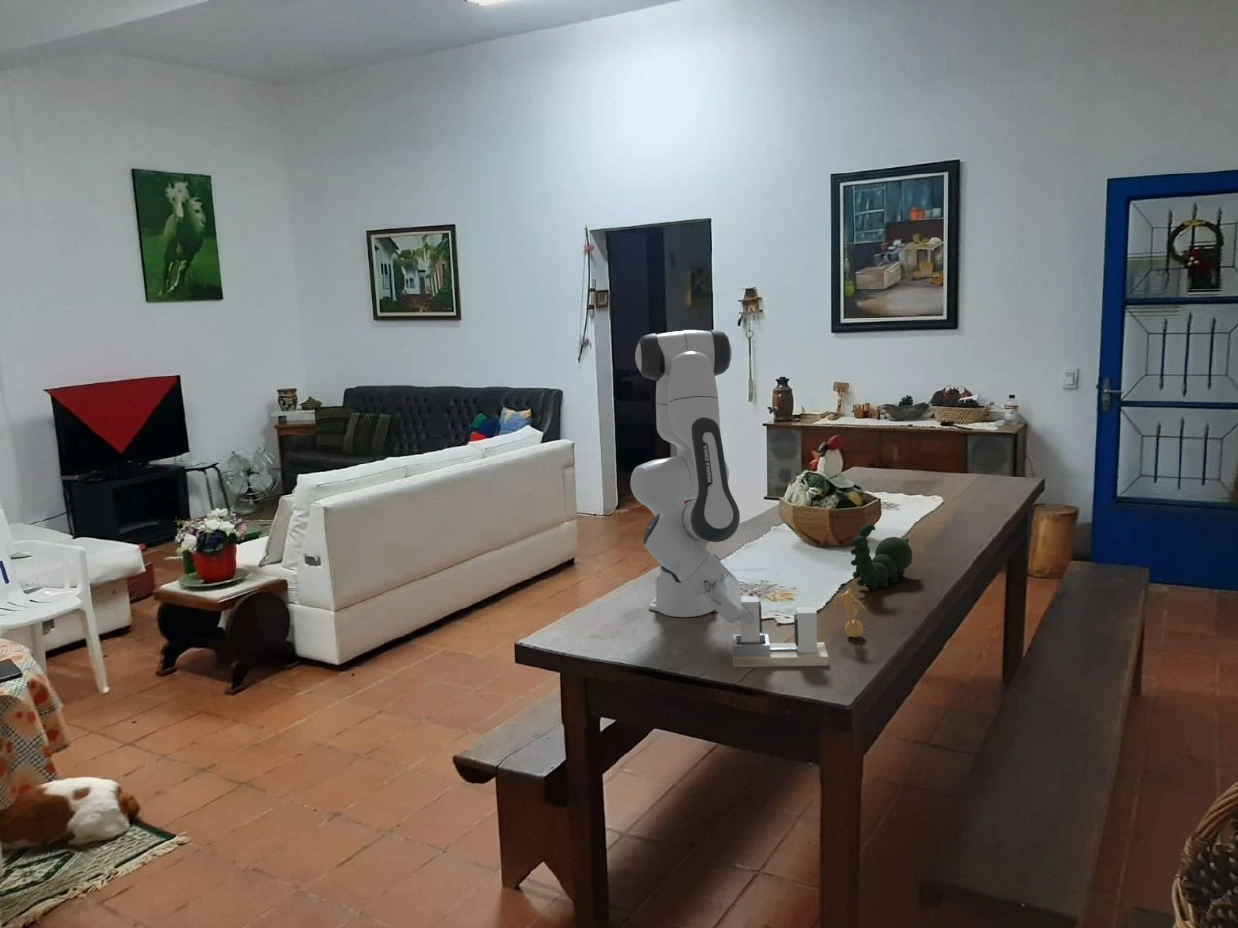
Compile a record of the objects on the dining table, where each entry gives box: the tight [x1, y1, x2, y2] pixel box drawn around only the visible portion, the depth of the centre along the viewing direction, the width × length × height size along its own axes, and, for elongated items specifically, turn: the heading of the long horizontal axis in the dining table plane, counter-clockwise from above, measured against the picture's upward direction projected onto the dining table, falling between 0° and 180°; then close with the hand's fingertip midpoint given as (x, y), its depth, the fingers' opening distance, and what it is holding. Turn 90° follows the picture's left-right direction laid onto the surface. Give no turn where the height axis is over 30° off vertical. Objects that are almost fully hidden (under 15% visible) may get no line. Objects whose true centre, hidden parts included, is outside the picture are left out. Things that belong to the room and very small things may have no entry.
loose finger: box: [739, 596, 763, 642], centre depth 208 cm, size 4×4×9 cm
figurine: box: [833, 588, 868, 638], centre depth 217 cm, size 8×6×12 cm
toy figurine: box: [850, 523, 913, 590], centre depth 252 cm, size 9×19×25 cm
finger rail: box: [731, 606, 829, 668], centre depth 208 cm, size 8×20×11 cm, turn 85°
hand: (752, 617), depth 208 cm, fingers closed on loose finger, 3 cm apart
